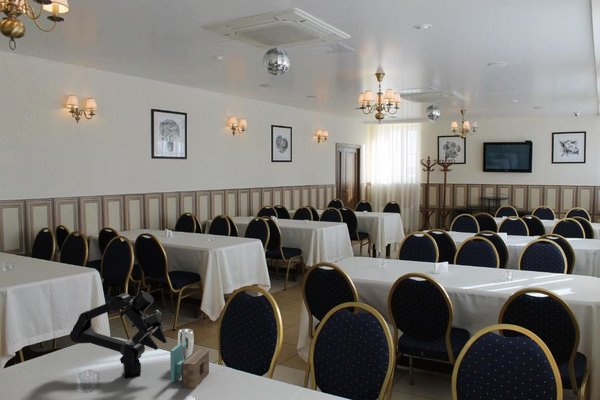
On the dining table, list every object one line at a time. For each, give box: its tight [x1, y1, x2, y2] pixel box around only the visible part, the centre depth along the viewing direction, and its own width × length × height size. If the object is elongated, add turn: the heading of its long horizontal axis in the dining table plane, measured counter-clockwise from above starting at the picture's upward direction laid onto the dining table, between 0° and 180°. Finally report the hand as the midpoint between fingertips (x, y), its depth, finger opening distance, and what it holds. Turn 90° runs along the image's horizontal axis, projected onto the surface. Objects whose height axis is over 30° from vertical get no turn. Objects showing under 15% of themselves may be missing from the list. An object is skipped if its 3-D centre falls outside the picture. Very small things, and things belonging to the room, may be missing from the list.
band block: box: [181, 349, 210, 389], centre depth 215 cm, size 6×16×10 cm, turn 169°
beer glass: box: [177, 328, 195, 361], centre depth 233 cm, size 7×7×15 cm
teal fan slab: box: [169, 343, 183, 383], centre depth 216 cm, size 7×9×13 cm
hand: (161, 345), depth 218 cm, fingers open, 8 cm apart
